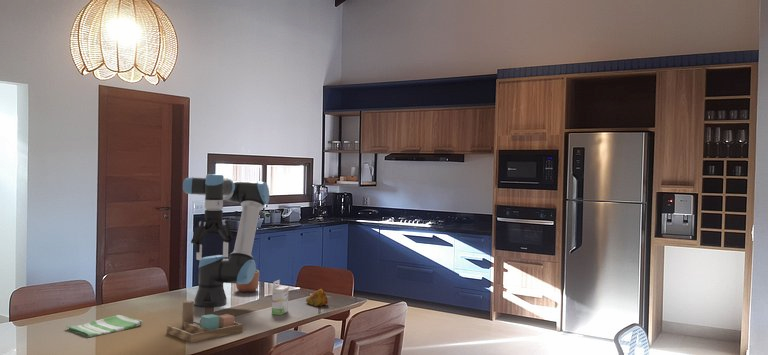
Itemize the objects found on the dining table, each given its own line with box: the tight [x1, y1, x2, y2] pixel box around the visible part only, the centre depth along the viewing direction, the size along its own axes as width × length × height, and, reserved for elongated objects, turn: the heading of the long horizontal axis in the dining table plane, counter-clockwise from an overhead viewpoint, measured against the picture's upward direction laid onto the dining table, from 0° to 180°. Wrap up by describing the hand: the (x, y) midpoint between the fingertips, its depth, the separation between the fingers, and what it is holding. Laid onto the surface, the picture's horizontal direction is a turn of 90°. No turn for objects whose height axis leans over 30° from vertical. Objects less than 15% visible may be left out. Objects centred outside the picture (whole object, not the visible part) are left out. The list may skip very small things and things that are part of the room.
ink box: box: [271, 279, 290, 316], centre depth 271 cm, size 9×5×15 cm, turn 168°
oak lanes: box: [166, 318, 244, 343], centre depth 235 cm, size 18×23×3 cm
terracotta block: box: [218, 313, 235, 327], centre depth 238 cm, size 5×5×6 cm
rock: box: [305, 288, 329, 307], centre depth 291 cm, size 11×8×10 cm
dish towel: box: [66, 314, 144, 339], centre depth 238 cm, size 18×23×3 cm
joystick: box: [181, 300, 219, 330], centre depth 238 cm, size 21×5×10 cm, turn 49°
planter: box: [235, 269, 260, 293], centre depth 318 cm, size 12×12×11 cm
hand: (212, 258), depth 255 cm, fingers open, 13 cm apart
